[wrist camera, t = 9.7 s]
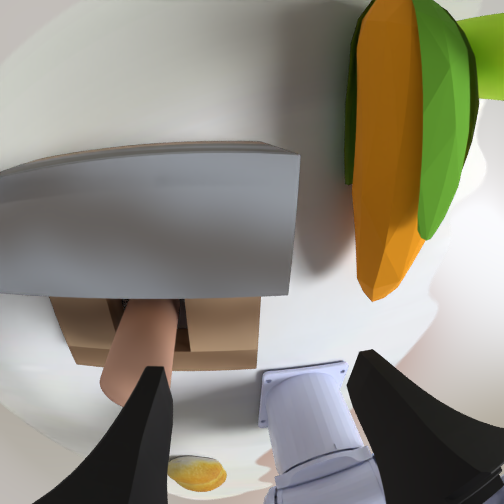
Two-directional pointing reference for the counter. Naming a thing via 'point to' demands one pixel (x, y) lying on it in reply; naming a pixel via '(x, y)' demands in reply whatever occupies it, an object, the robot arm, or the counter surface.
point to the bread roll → (197, 473)
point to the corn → (405, 132)
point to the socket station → (154, 241)
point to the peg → (140, 345)
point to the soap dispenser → (487, 52)
